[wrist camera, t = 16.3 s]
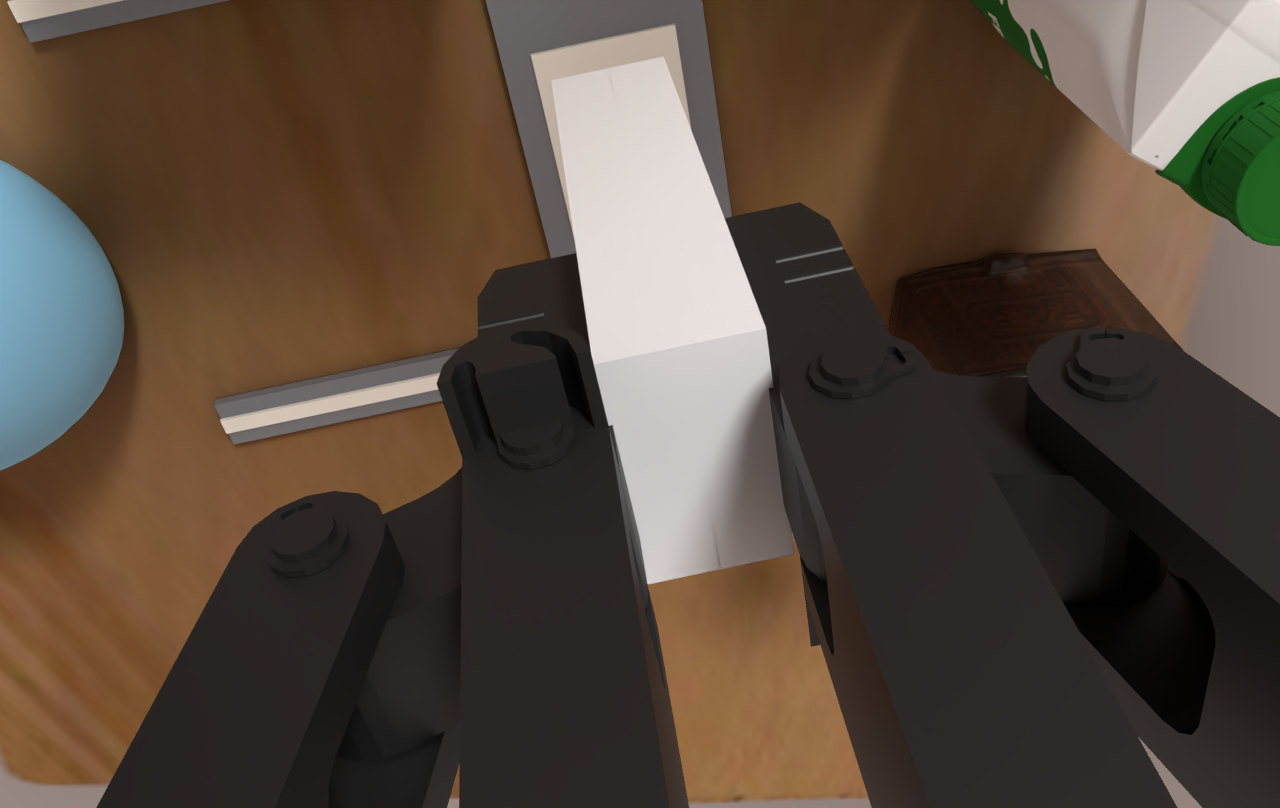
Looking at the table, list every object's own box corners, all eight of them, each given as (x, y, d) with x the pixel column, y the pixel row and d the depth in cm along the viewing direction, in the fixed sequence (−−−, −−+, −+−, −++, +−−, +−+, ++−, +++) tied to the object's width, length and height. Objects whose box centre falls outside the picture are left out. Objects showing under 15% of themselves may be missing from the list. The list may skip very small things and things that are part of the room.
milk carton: (911, -22, 47) (1133, 195, 31) (1050, -245, 43) (1391, -125, 27) (1070, 67, 50) (1345, 304, 34) (1214, -133, 46) (1607, 33, 30)
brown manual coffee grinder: (1103, 233, 56) (1321, 468, 41) (1071, 411, 62) (1249, 667, 48) (790, 275, 55) (901, 528, 41) (791, 451, 62) (887, 722, 48)
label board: (1, -26, 43) (-5, -21, 43) (676, -172, 43) (679, -168, 42) (235, 438, 57) (233, 446, 56) (746, 330, 57) (749, 338, 56)
